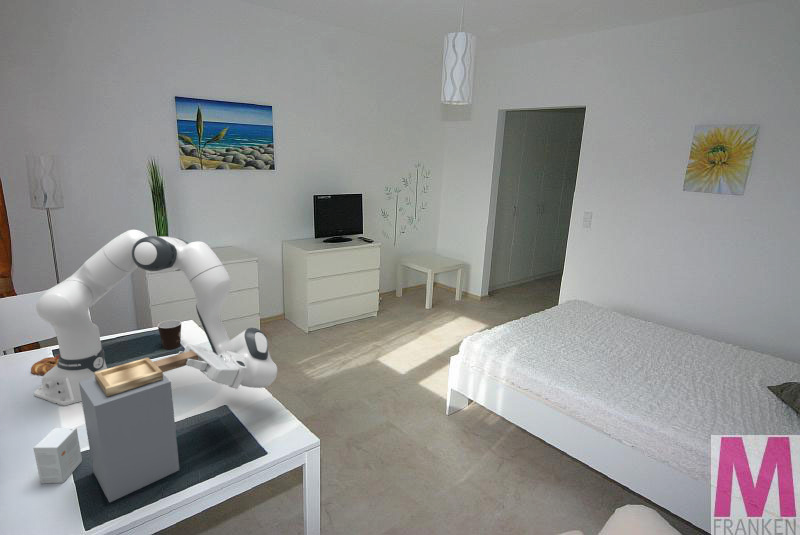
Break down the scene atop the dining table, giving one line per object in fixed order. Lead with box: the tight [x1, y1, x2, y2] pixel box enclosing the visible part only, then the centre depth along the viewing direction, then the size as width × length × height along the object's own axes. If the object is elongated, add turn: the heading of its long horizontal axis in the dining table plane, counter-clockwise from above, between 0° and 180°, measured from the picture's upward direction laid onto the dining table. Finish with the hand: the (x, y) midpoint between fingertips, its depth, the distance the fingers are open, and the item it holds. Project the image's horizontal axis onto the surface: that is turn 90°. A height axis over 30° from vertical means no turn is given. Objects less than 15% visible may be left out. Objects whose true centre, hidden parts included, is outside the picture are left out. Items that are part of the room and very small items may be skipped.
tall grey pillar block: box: [79, 373, 180, 503], centre depth 112 cm, size 16×14×26 cm
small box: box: [33, 427, 83, 484], centre depth 113 cm, size 8×6×10 cm
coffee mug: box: [157, 319, 182, 351], centre depth 184 cm, size 12×9×10 cm
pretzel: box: [30, 355, 58, 376], centre depth 162 cm, size 12×11×4 cm
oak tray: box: [94, 350, 198, 397], centre depth 113 cm, size 22×10×2 cm, turn 137°
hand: (182, 358), depth 118 cm, fingers open, 4 cm apart
